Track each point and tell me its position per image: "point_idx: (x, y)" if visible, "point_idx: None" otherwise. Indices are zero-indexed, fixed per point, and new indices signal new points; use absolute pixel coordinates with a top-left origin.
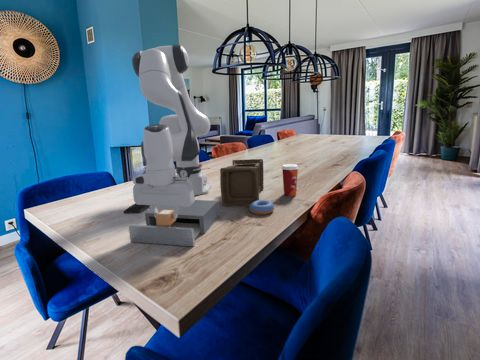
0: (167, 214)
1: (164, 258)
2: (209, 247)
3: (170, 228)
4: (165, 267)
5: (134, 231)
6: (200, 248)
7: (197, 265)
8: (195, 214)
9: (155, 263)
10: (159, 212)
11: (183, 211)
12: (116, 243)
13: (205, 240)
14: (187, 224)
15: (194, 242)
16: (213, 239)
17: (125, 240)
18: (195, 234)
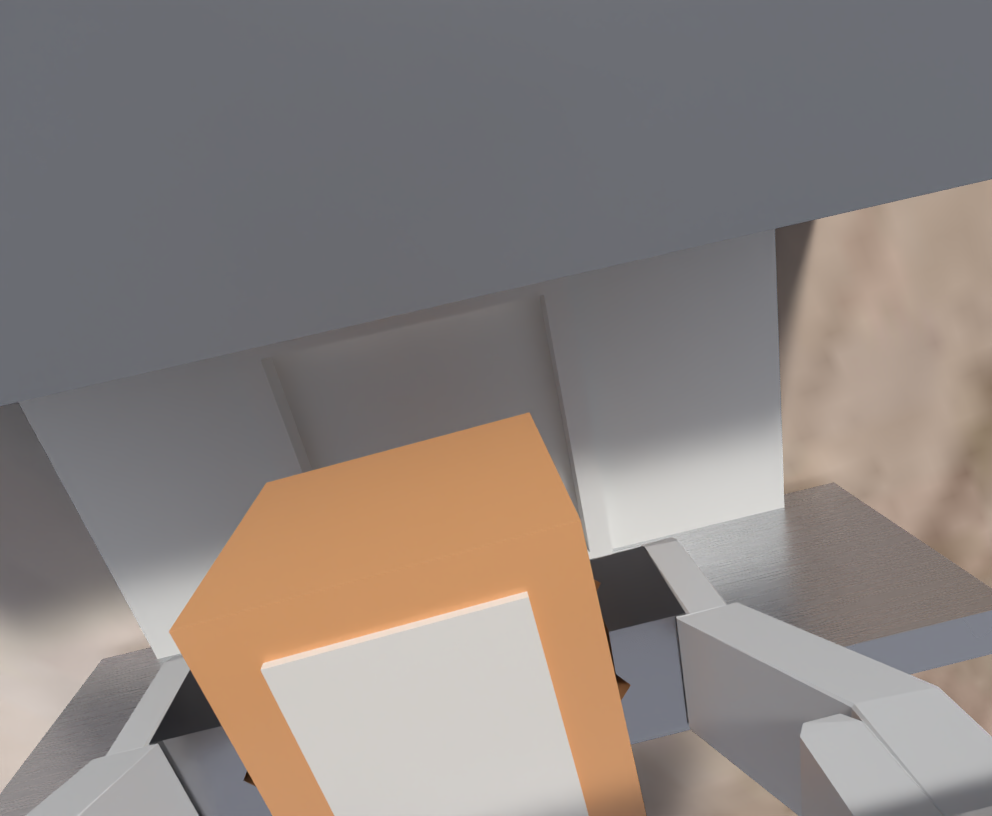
0: (587, 804)
1: (672, 734)
2: (981, 453)
3: (682, 728)
4: (750, 800)
5: None
6: (901, 501)
7: (962, 701)
8: (920, 118)
9: (649, 799)
10: (282, 798)
11: (484, 11)
12: (4, 749)
13: (895, 338)
14: None
15: (851, 497)
16: (978, 280)
17: (17, 676)
18: (769, 310)
